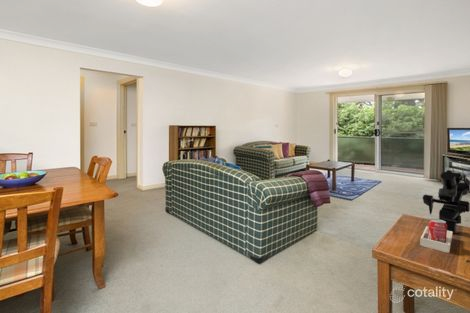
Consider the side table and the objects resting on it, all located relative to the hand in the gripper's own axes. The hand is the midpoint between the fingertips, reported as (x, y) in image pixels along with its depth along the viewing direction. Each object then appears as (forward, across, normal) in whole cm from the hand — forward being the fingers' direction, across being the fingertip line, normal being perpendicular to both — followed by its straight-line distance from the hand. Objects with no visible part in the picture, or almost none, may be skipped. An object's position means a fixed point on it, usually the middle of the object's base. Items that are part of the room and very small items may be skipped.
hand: (441, 216), depth 129 cm
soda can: (+14, 0, +4) cm, 15 cm away
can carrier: (+11, -1, +8) cm, 14 cm away
